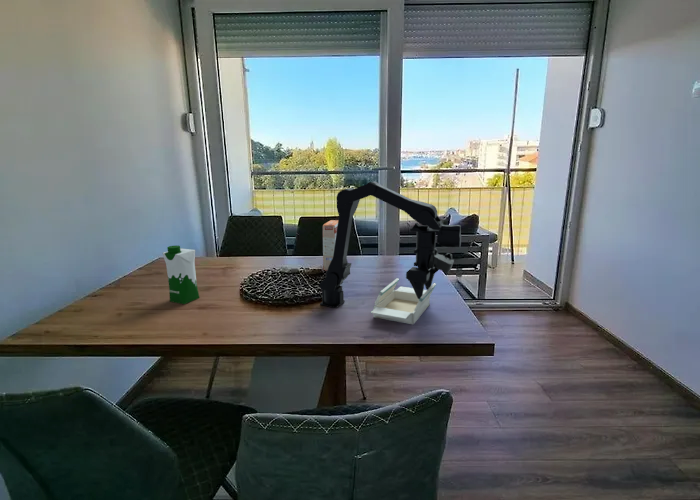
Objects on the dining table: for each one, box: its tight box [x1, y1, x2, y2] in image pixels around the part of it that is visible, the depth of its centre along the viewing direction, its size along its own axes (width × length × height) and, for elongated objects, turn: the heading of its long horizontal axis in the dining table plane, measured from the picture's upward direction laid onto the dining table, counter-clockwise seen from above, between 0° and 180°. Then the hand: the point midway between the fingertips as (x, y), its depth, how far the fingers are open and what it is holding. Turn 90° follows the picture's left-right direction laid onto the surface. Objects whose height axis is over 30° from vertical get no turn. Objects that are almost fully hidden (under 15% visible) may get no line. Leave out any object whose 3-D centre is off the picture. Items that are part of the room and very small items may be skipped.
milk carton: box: [162, 245, 200, 305], centre depth 139 cm, size 9×9×20 cm
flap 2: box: [414, 282, 437, 312], centre depth 124 cm, size 1×15×5 cm, turn 153°
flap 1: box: [374, 277, 400, 306], centre depth 129 cm, size 1×15×5 cm, turn 153°
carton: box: [370, 286, 431, 325], centre depth 128 cm, size 13×26×4 cm, turn 153°
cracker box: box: [322, 219, 338, 272], centre depth 177 cm, size 14×6×21 cm, turn 168°
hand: (424, 294), depth 124 cm, fingers open, 9 cm apart
